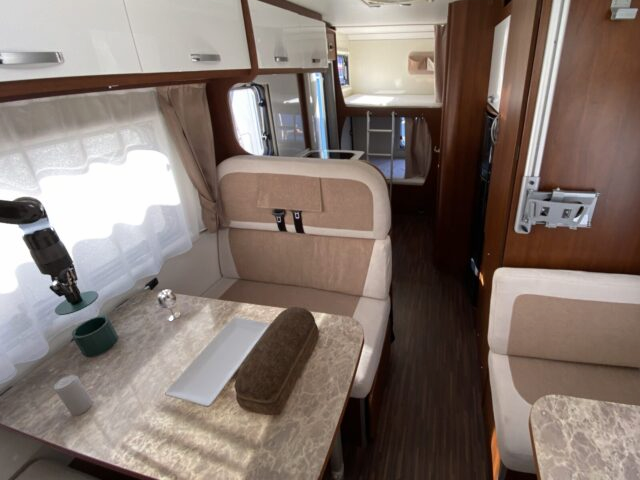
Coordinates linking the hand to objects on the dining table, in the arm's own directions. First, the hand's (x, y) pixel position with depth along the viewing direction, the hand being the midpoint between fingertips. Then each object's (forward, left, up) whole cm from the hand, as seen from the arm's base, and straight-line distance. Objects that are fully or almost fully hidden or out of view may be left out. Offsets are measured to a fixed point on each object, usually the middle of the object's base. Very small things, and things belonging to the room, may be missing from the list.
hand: (74, 298), depth 103 cm
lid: (0, 0, -2) cm, 2 cm away
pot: (0, 0, -23) cm, 23 cm away
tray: (+40, -33, -23) cm, 56 cm away
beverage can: (+1, -27, -23) cm, 35 cm away
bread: (+57, -46, -23) cm, 77 cm away
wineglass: (+23, +2, -23) cm, 32 cm away
